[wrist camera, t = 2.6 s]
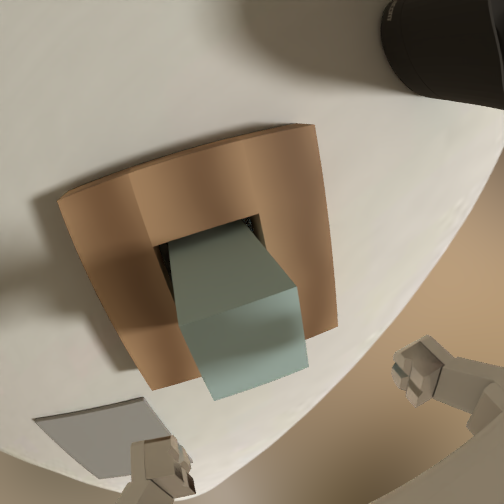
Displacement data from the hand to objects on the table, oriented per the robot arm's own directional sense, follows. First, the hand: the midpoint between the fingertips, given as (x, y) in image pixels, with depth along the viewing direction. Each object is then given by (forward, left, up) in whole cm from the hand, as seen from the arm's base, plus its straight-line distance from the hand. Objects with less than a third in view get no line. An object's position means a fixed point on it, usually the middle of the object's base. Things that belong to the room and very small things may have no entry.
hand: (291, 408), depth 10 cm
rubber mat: (-15, -16, -12) cm, 25 cm away
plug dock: (0, 0, -12) cm, 12 cm away
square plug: (0, 0, -12) cm, 12 cm away
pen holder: (+19, +12, -12) cm, 25 cm away
